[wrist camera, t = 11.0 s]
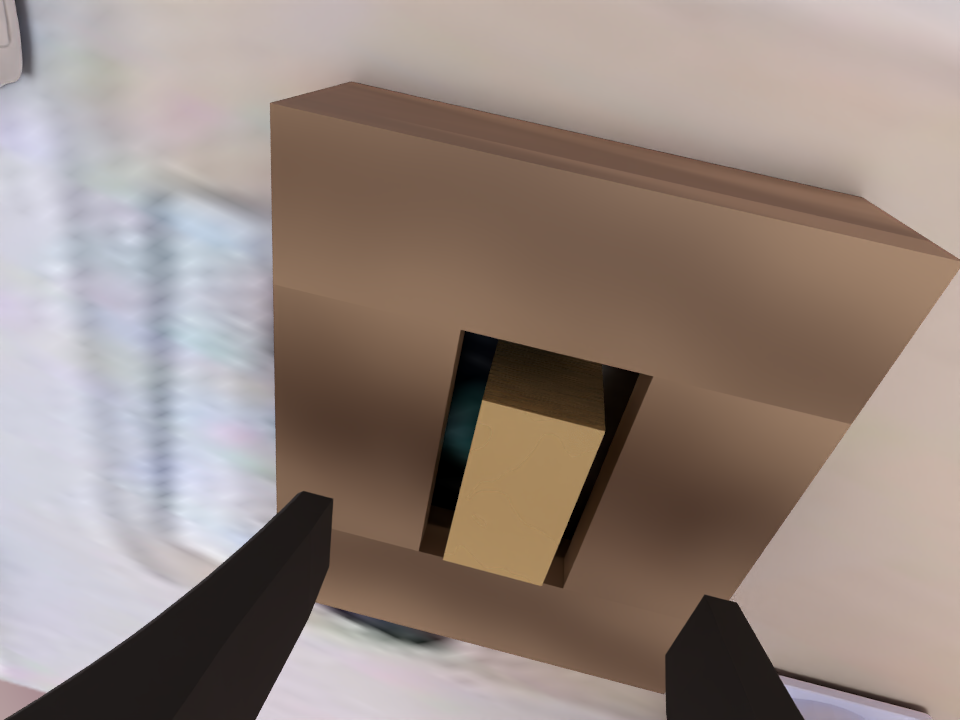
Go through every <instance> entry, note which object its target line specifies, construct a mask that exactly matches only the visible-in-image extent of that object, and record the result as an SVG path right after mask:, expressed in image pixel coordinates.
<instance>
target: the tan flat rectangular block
mask: <svg viewBox="0 0 960 720" xmlns="http://www.w3.org/2000/svg"><path fill="white" fill-rule="evenodd" d="M604 434H605V416H604V396H603V377H602V364H600V363H596V362H592V361H588V360H584V359H580V358H576V357H572V356H567V355H563V354H559V353H555V352H551V351H547V350H543V349H538V348H534V347H530V346H526V345H522V344H518V343H514V342H510V341H505V340H501V339H499V340H498V344H497V347H496V351H495V355H494V359H493V362H492V366H491V370H490V373H489V377H488V381H487V385H486V388H485V392H484V396H483V400H482V404H481V408H480V412H479V416H478V420H477V424H476V428H475V432H474V436H473V440H472V444H471V448H470V452H469V456H468V460H467V464H466V468H465V472H464V476H463V480H462V484H461V488H460V493H459V497H458V501H457V505H456V509H455V513H454V517H453V521H452V525H451V529H450V533H449V537H448V541H447V545H446V549H445V553H444V557H443V560H445V561H449V562H452V563H456V564H460V565H464V566H467V567H471V568H475V569H479V570H482V571H486V572H490V573H494V574H498V575H501V576H505V577H509V578H513V579H516V580H520V581H524V582H528V583H531V584H535V585H539V586H542V584H543V582H544V579H545V577H546V575H547V572H548V570H549V567H550V565H551V562H552V560H553V558H554V555H555V553H556V550H557V548H558V545H559V543H560V541H561V538H562V536H563V533H564V531H565V528H566V526H567V523H568V521H569V519H570V516H571V514H572V511H573V509H574V506H575V504H576V502H577V499H578V497H579V494H580V492H581V489H582V487H583V485H584V482H585V480H586V477H587V475H588V472H589V470H590V468H591V465H592V463H593V460H594V458H595V455H596V453H597V451H598V448H599V446H600V443H601V441H602V438H603V436H604Z"/></svg>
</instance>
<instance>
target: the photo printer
mask: <svg viewBox="0 0 960 720" xmlns="http://www.w3.org/2000/svg"><path fill="white" fill-rule="evenodd" d="M21 73H22V50H21V38H20V30H19V23H18V17H17V13H16V6H15V0H0V87H1V86H3V85H5V84H8V83H13V82H16V81H18V79H19V78H20V76H21Z"/></svg>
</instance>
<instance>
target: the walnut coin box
mask: <svg viewBox="0 0 960 720" xmlns="http://www.w3.org/2000/svg"><path fill="white" fill-rule="evenodd" d="M270 129H271V188H272V248H273V308H274V368H275V428H276V488H277V513H278V512H279V511H280V510H281V509H282V508H284V507H285V506H286V505H287V504H288V503H289V502H290V501H291V500H292V498H293V497H294V496H295V495H296V494H297V493H300V492H302V491H306V492H310V493H314V494H318V495H321V496H325V497H329V498H333V514H332V530H331V547H330V563H329V569H328V571H327V574H326V576H325V579H324V581H323V584H322V586H321V589H320V591H319V594H318V596H317V599H316V601H315V602H316V603H320V604H324V605H328V606H332V607H335V608H339V609H343V610H347V611H351V612H354V613H358V614H362V615H366V616H369V617H373V618H377V619H381V620H385V621H388V622H392V623H396V624H400V625H404V626H407V627H411V628H415V629H419V630H423V631H426V632H430V633H434V634H438V635H441V636H445V637H449V638H453V639H457V640H460V641H464V642H468V643H472V644H476V645H479V646H483V647H487V648H491V649H494V650H498V651H502V652H506V653H510V654H513V655H517V656H521V657H525V658H529V659H532V660H536V661H540V662H544V663H548V664H551V665H555V666H559V667H563V668H566V669H570V670H574V671H578V672H582V673H585V674H589V675H593V676H597V677H601V678H604V679H608V680H612V681H616V682H619V683H623V684H627V685H631V686H635V687H638V688H642V689H646V690H650V691H654V692H657V693H661V694H664V693H665V692H666V688H665V655H666V653H667V651H668V650H669V648H670V647H671V645H672V644H673V642H674V641H675V639H676V638H677V636H678V634H679V633H680V631H681V630H682V628H683V627H684V625H685V624H686V622H687V621H688V619H689V618H690V616H691V614H692V613H693V611H694V610H695V608H696V607H697V605H698V604H699V602H700V601H701V599H702V597H703V596H704V594H705V595H709V596H713V597H717V598H720V599H724V600H728V601H729V600H730V598H731V597H732V595H733V594H734V592H735V591H736V590H737V588H738V587H739V585H740V584H741V582H742V581H743V579H744V578H745V577H746V575H747V574H748V572H749V571H750V569H751V568H752V566H753V565H754V564H755V562H756V561H757V559H758V558H759V556H760V555H761V554H762V552H763V551H764V549H765V548H766V546H767V545H768V543H769V542H770V541H771V539H772V538H773V536H774V535H775V533H776V532H777V531H778V529H779V528H780V526H781V525H782V523H783V522H784V520H785V519H786V518H787V516H788V515H789V513H790V512H791V510H792V509H793V508H794V506H795V505H796V503H797V502H798V500H799V499H800V497H801V496H802V495H803V493H804V492H805V490H806V489H807V487H808V486H809V485H810V483H811V482H812V480H813V479H814V477H815V476H816V474H817V473H818V472H819V470H820V469H821V467H822V466H823V464H824V463H825V462H826V460H827V459H828V457H829V456H830V454H831V453H832V451H833V450H834V449H835V447H836V446H837V444H838V443H839V441H840V440H841V438H842V437H843V436H844V434H845V433H846V431H847V430H848V428H849V427H850V426H851V424H852V423H853V421H854V420H855V418H856V417H857V415H858V414H859V413H860V411H861V410H862V408H863V407H864V405H865V404H866V403H867V401H868V400H869V398H870V397H871V395H872V394H873V392H874V391H875V390H876V388H877V387H878V385H879V384H880V382H881V381H882V380H883V378H884V377H885V375H886V374H887V372H888V371H889V369H890V368H891V367H892V365H893V364H894V362H895V361H896V359H897V358H898V357H899V355H900V354H901V352H902V351H903V349H904V348H905V346H906V345H907V344H908V342H909V341H910V339H911V338H912V336H913V335H914V334H915V332H916V331H917V329H918V328H919V326H920V325H921V323H922V322H923V321H924V319H925V318H926V316H927V315H928V313H929V312H930V310H931V309H932V308H933V306H934V305H935V303H936V302H937V300H938V299H939V298H940V296H941V295H942V293H943V292H944V290H945V289H946V287H947V286H948V285H949V283H950V282H951V280H952V279H953V277H954V276H955V275H956V273H957V272H958V270H959V269H960V259H958V258H957V257H955V256H953V255H952V254H950V253H949V252H947V251H946V250H944V249H942V248H941V247H939V246H938V245H936V244H935V243H933V242H931V241H930V240H928V239H927V238H925V237H924V236H922V235H921V234H919V233H917V232H916V231H914V230H913V229H911V228H910V227H908V226H906V225H905V224H903V223H902V222H900V221H899V220H897V219H895V218H894V217H892V216H891V215H889V214H888V213H886V212H885V211H883V210H881V209H880V208H878V207H877V206H875V205H874V204H872V203H870V202H869V201H867V200H866V199H864V198H862V197H857V196H853V195H849V194H844V193H840V192H835V191H831V190H826V189H822V188H818V187H813V186H809V185H804V184H800V183H796V182H791V181H787V180H782V179H778V178H774V177H769V176H765V175H760V174H756V173H752V172H747V171H743V170H738V169H734V168H729V167H725V166H721V165H716V164H712V163H707V162H703V161H699V160H694V159H690V158H685V157H681V156H677V155H672V154H668V153H663V152H659V151H654V150H650V149H646V148H641V147H637V146H632V145H628V144H624V143H619V142H615V141H610V140H606V139H602V138H597V137H593V136H588V135H584V134H580V133H575V132H571V131H566V130H562V129H557V128H553V127H549V126H544V125H540V124H535V123H531V122H527V121H522V120H518V119H513V118H509V117H505V116H500V115H496V114H491V113H487V112H482V111H478V110H474V109H469V108H465V107H460V106H456V105H452V104H447V103H443V102H438V101H434V100H430V99H425V98H421V97H416V96H412V95H408V94H403V93H399V92H394V91H390V90H385V89H381V88H377V87H372V86H368V85H363V84H359V83H355V82H348V83H344V84H340V85H337V86H333V87H329V88H325V89H321V90H318V91H314V92H310V93H306V94H302V95H299V96H295V97H291V98H287V99H283V100H280V101H276V102H272V103H270ZM465 331H468V332H472V333H477V334H481V335H485V336H489V337H493V338H497V339H501V340H505V341H510V342H514V343H518V344H522V345H526V346H530V347H534V348H538V349H543V350H547V351H551V352H555V353H559V354H563V355H567V356H572V357H576V358H580V359H584V360H588V361H592V362H596V363H600V364H605V365H609V366H613V367H617V368H621V369H625V370H629V371H633V372H638V373H640V374H639V377H638V379H637V381H636V384H635V386H634V389H633V391H632V394H631V396H630V399H629V401H628V404H627V406H626V408H625V411H624V413H623V416H622V418H621V421H620V423H619V426H618V428H617V430H616V433H615V435H614V438H613V440H612V443H611V445H610V448H609V450H608V453H607V455H606V457H605V460H604V462H603V465H602V467H601V470H600V472H599V475H598V477H597V479H596V482H595V484H594V487H593V489H592V492H591V494H590V497H589V499H588V502H587V504H586V506H585V509H584V511H583V514H582V516H581V519H580V521H579V524H578V526H577V528H576V531H575V533H574V536H573V538H572V541H571V540H567V539H563V538H561V541H560V543H559V545H558V548H557V550H556V553H555V555H554V558H553V560H552V562H551V565H550V567H549V570H548V572H547V575H546V577H545V579H544V582H543V584H542V586H539V585H535V584H531V583H528V582H524V581H520V580H516V579H513V578H509V577H505V576H501V575H498V574H494V573H490V572H486V571H482V570H479V569H475V568H471V567H467V566H464V565H460V564H456V563H452V562H449V561H445V560H443V557H444V553H445V549H446V545H447V541H448V537H449V533H450V529H451V525H452V521H453V517H454V513H455V511H453V510H449V509H445V508H441V507H437V506H433V505H431V502H432V497H433V492H434V487H435V482H436V476H437V471H438V466H439V461H440V456H441V451H442V446H443V441H444V435H445V430H446V425H447V420H448V415H449V410H450V405H451V400H452V394H453V389H454V384H455V379H456V374H457V369H458V364H459V359H460V353H461V348H462V343H463V338H464V333H465Z"/></svg>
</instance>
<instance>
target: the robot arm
mask: <svg viewBox="0 0 960 720" xmlns="http://www.w3.org/2000/svg"><path fill="white" fill-rule="evenodd" d="M332 514H333V498H329V497H325V496H321V495H318V494H314V493H310V492H306V491H302V492H300V493H297V494H296V495H295V496H294V497H293V498H292V500H291V501H290V502H289V503H288V504H287V505H286V506H285V507H284V508H282V509H281V510H280V511H279V512H278V513H277V514H276V515H275V516H274V517H273V518H272V519H271V520H270V521H269V522H268V523H267V524H266V525H265V526H264V527H263V528H262V529H261V530H259V531H258V532H257V533H256V534H255V535H254V536H253V537H252V538H251V539H250V540H249V541H248V542H246V543H245V544H244V545H243V546H242V547H241V548H240V549H239V550H237V551H236V552H235V553H234V554H233V555H232V556H230V557H229V558H228V559H227V560H226V561H225V562H224V563H222V564H221V565H220V566H219V567H218V568H217V569H216V570H214V571H213V572H212V573H211V574H210V575H209V576H207V577H206V578H205V579H204V580H203V581H201V582H200V583H199V584H198V585H196V586H195V587H194V588H193V589H191V590H190V591H189V592H188V593H186V594H185V595H184V596H183V597H181V598H180V599H179V600H178V601H176V602H175V603H174V604H172V605H171V606H170V607H169V608H167V609H166V610H165V611H164V612H162V613H161V614H160V615H159V616H157V617H156V618H155V619H153V620H152V621H151V622H149V623H148V624H147V625H145V626H144V627H143V628H141V629H140V630H139V631H137V632H136V633H135V634H133V635H132V636H130V637H129V638H128V639H126V640H125V641H123V642H122V643H121V644H119V645H118V646H116V647H115V648H114V649H112V650H111V651H109V652H108V653H106V654H105V655H103V656H102V657H101V658H99V659H98V660H96V661H95V662H93V663H92V664H90V665H89V666H88V667H86V668H84V669H83V670H81V671H80V672H78V673H77V674H75V675H74V676H72V677H71V678H69V679H68V680H66V681H65V682H63V683H61V684H60V685H58V686H57V687H55V688H54V689H52V690H51V691H49V692H48V693H46V694H45V695H43V696H42V697H40V698H39V699H37V700H35V701H34V702H32V703H30V704H29V705H28V706H26V707H24V708H22V709H21V710H19V711H18V712H16V713H14V714H13V715H11V716H10V717H8V718H6V719H4V720H255V719H256V718H257V716H258V714H259V712H260V710H261V708H262V706H263V704H264V702H265V701H266V699H267V697H268V695H269V693H270V691H271V689H272V687H273V685H274V683H275V682H276V680H277V678H278V676H279V674H280V672H281V670H282V668H283V666H284V665H285V663H286V661H287V659H288V657H289V655H290V653H291V651H292V649H293V647H294V645H295V643H296V642H297V640H298V638H299V636H300V634H301V632H302V630H303V628H304V626H305V624H306V622H307V620H308V618H309V616H310V614H311V611H312V609H313V606H314V604H315V601H316V599H317V596H318V594H319V591H320V589H321V586H322V584H323V581H324V579H325V576H326V574H327V571H328V569H329V563H330V547H331V530H332ZM665 688H666V715H667V720H933V718H932V717H931V716H930V715H928V714H926V713H923V712H919V711H915V710H912V709H908V708H904V707H900V706H896V705H892V704H889V703H885V702H881V701H877V700H873V699H869V698H866V697H862V696H858V695H854V694H850V693H846V692H843V691H839V690H835V689H831V688H827V687H823V686H819V685H816V684H812V683H808V682H804V681H800V680H796V679H793V678H789V677H785V676H781V675H778V673H777V672H776V670H775V668H774V667H773V665H772V663H771V661H770V660H769V658H768V656H767V654H766V653H765V651H764V649H763V647H762V646H761V644H760V642H759V640H758V639H757V637H756V635H755V633H754V632H753V630H752V628H751V626H750V625H749V623H748V621H747V619H746V618H745V616H744V614H743V612H742V611H741V609H740V607H739V605H738V604H737V603H736V602H732V601H728V600H724V599H720V598H717V597H713V596H709V595H705V594H704V596H703V597H702V599H701V601H700V602H699V604H698V605H697V607H696V608H695V610H694V611H693V613H692V614H691V616H690V618H689V619H688V621H687V622H686V624H685V625H684V627H683V628H682V630H681V631H680V633H679V634H678V636H677V638H676V639H675V641H674V642H673V644H672V645H671V647H670V648H669V650H668V651H667V653H666V655H665Z"/></svg>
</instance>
